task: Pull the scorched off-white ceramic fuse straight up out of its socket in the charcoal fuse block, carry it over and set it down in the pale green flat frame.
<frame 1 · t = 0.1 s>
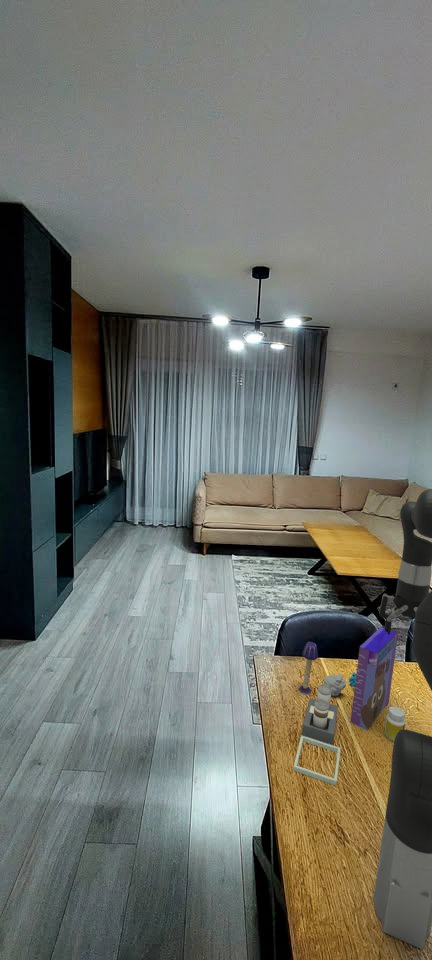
hand: (405, 637, 111), 29 cm above the table, tool pointing down, fingers open, 8 cm apart
toy lamp: (305, 694, 131), on the table
pale green flat frame: (317, 764, 104), on the table
blown fuse: (318, 732, 114), point 1 cm above the table, touching fuse block
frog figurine: (332, 695, 131), on the table
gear: (360, 687, 137), on the table
cereal box: (369, 714, 124), on the table
supplement bottle: (392, 740, 114), on the table
fuse block: (319, 728, 117), on the table
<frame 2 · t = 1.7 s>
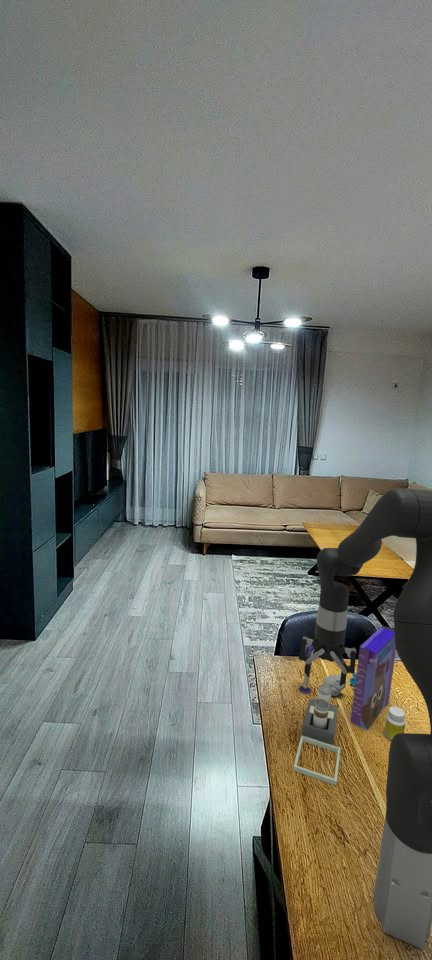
hand: (324, 679, 112), 16 cm above the table, tool pointing down, fingers open, 8 cm apart
nothing on the table moved.
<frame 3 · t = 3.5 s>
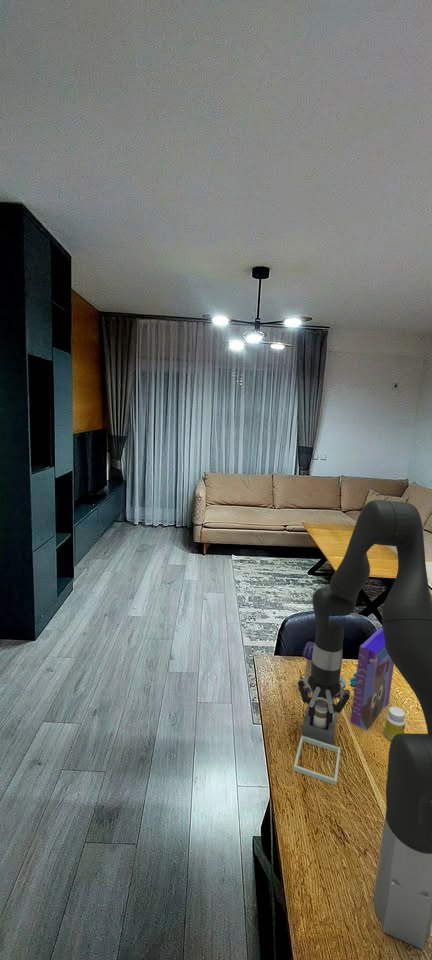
hand: (320, 719, 113), 5 cm above the table, tool pointing down, fingers closed on blown fuse, 3 cm apart
blown fuse: (318, 732, 114), point 1 cm above the table, touching fuse block, gripper
everything else where it was.
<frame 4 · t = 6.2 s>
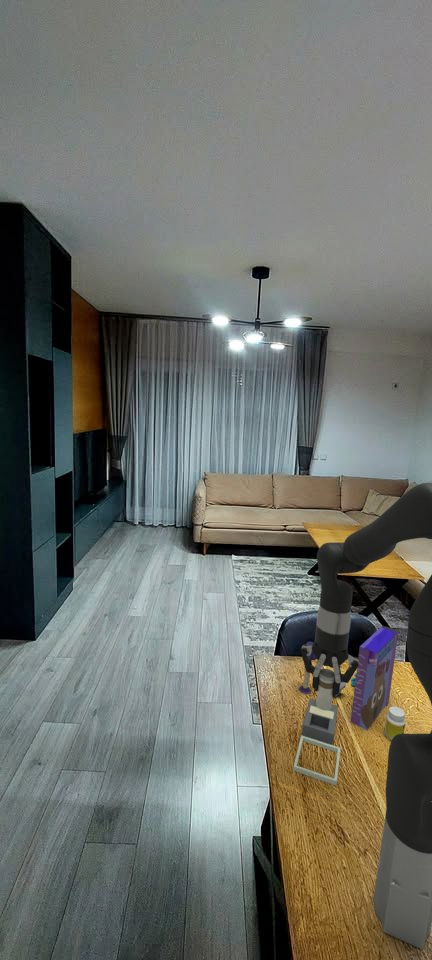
hand: (325, 691, 101), 20 cm above the table, tool pointing down, fingers closed on blown fuse, 3 cm apart
blown fuse: (323, 705, 102), point 16 cm above the table, touching gripper
everything else where it was.
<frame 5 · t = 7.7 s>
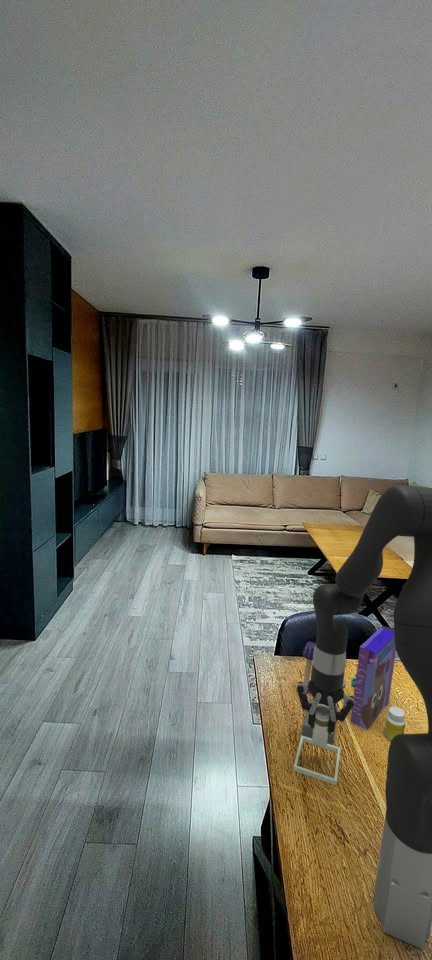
hand: (321, 728, 103), 10 cm above the table, tool pointing down, fingers closed on blown fuse, 3 cm apart
blown fuse: (319, 741, 104), point 6 cm above the table, touching gripper
everything else where it was.
when the fingers open (6 cm above the table, at t = 8.9 s): blown fuse drops 1 cm, resting on pale green flat frame.
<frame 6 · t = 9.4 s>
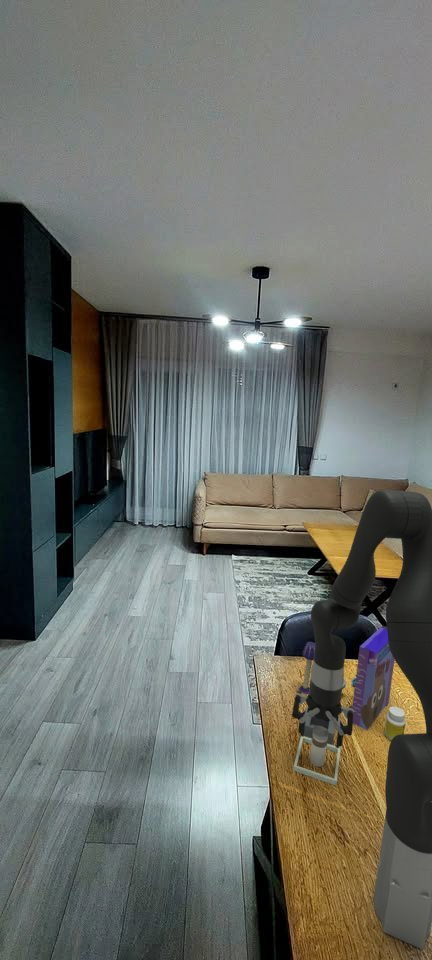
hand: (319, 739, 103), 7 cm above the table, tool pointing down, fingers open, 8 cm apart
blown fuse: (316, 761, 104), point 1 cm above the table, touching pale green flat frame
everything else where it was.
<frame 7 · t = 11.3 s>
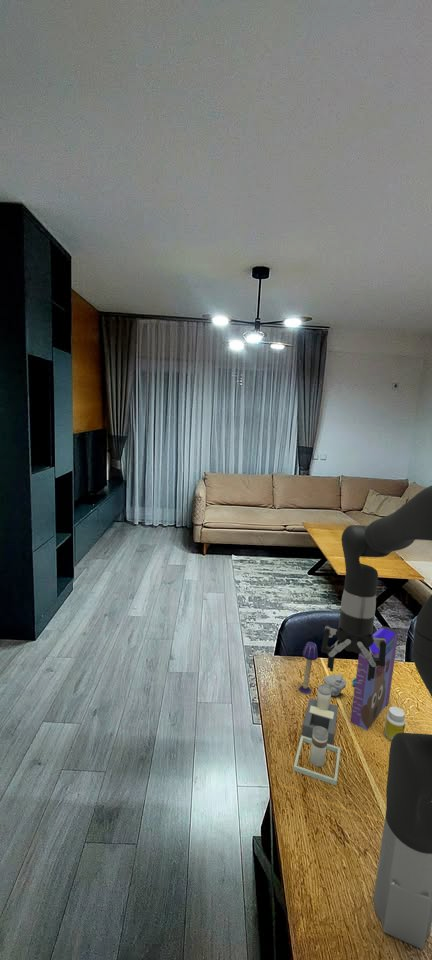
hand: (350, 674, 100), 25 cm above the table, tool pointing down, fingers open, 8 cm apart
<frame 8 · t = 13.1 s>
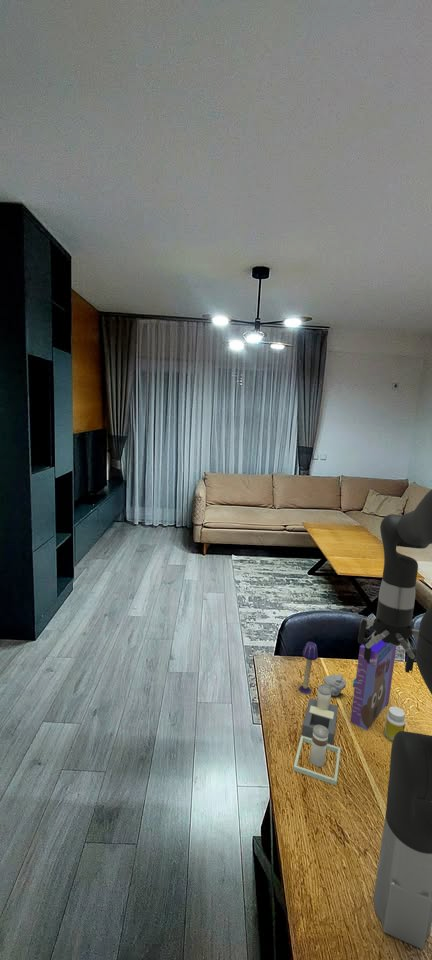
hand: (387, 666, 99), 28 cm above the table, tool pointing down, fingers open, 8 cm apart
at the end: blown fuse inside the target area on the pale green flat frame (0.1 cm from its centre), point 0.7 cm above the pale green flat frame's base; the gripper is holding nothing; blown fuse touching pale green flat frame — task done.
